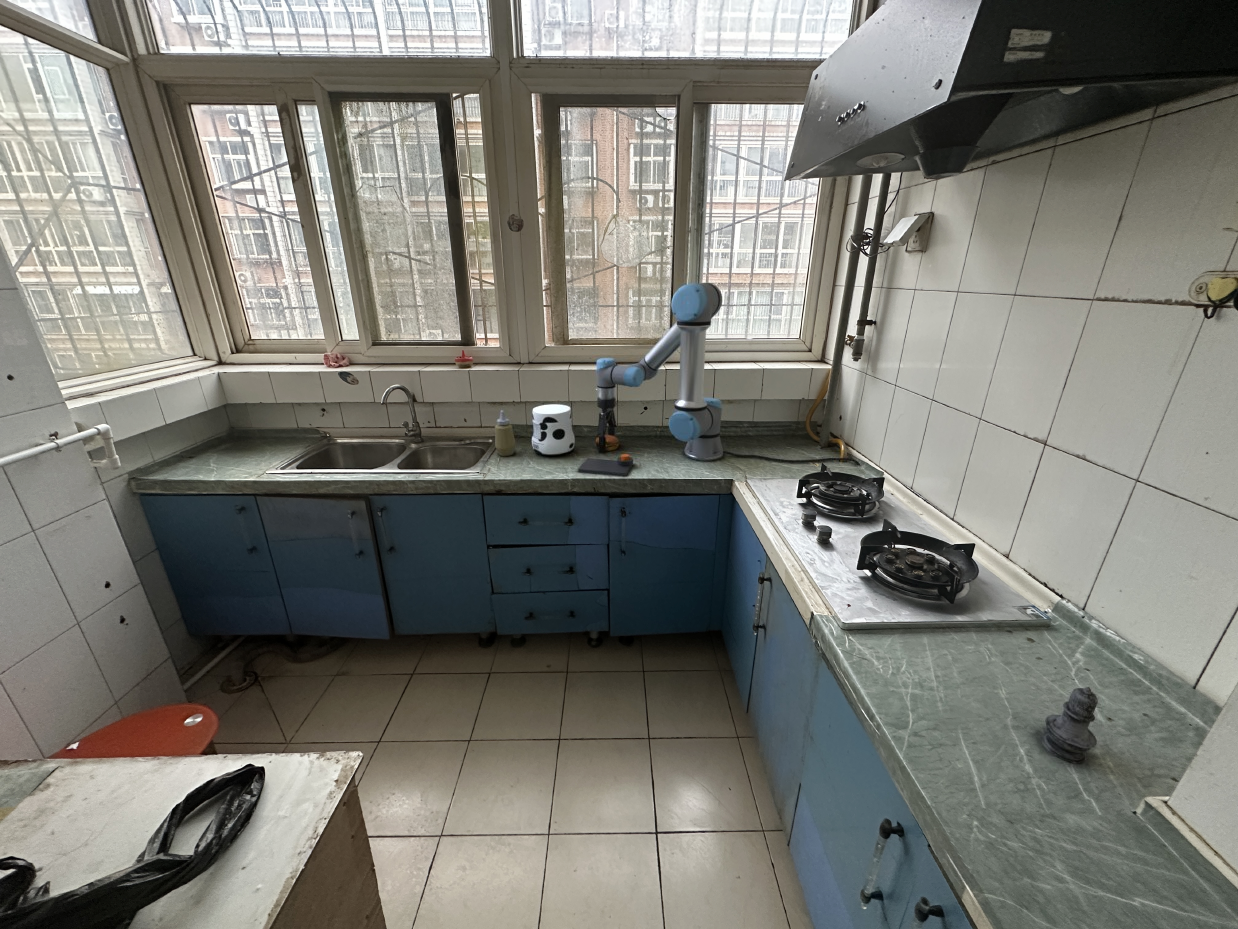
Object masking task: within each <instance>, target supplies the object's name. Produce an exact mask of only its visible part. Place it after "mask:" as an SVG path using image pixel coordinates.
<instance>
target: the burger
mask: <svg viewBox="0 0 1238 929" xmlns="http://www.w3.org/2000/svg"><path fill="white" fill-rule="evenodd" d="M605 437H606V452H607V451H615V450H617V449H618V448H619V445H620V441H619V439H618V437H616V436H615V437H614V436H611V435H608V434H605ZM595 444H596V447H597V448H598V449H599V438H598V437H596V439H595Z"/></svg>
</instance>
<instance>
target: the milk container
mask: <svg viewBox="0 0 1238 929" xmlns="http://www.w3.org/2000/svg"><path fill="white" fill-rule="evenodd" d="M531 413H532V417H531V418H532V436H531V445H532V449H533V451H534V452H535V453H537V454H539V455H543V456H551V457H554V456H562V455H566V454H568V453H570V452H572V451H573V450H574V448H575V442H576V440H575V439H576V437H575V434H574V431H573V424H572V422H573V420H572V419H573V418H572V409H571V407H570V406H569V405H565V404H558V403H557V404H555V403H554V404H544V405H543V404H542V405H538V406H535V407H534V408H532V411H531Z"/></svg>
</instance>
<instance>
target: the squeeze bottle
mask: <svg viewBox="0 0 1238 929" xmlns="http://www.w3.org/2000/svg"><path fill="white" fill-rule="evenodd" d="M494 447H495V449H496V451H497V454H498V455H499V456H502V457H508V456H512V455H513V454H514V452H515V448H516V440H515V435H514V430H513V425H512V424H511V423H510V419H509V418H507V417H506V414H505V411H504V410H500V413H499V418H498V419H496V425H495V426H494Z"/></svg>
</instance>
